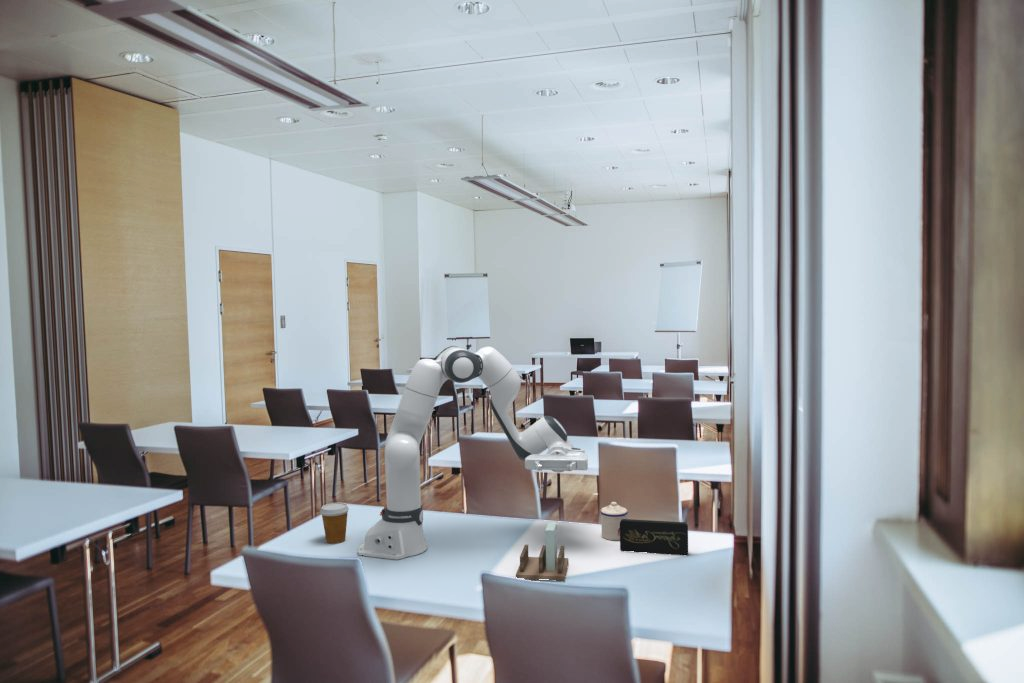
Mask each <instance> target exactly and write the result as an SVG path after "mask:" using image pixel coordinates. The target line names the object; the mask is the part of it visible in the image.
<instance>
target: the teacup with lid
mask: <svg viewBox="0 0 1024 683" xmlns="http://www.w3.org/2000/svg"><path fill="white" fill-rule="evenodd" d="M628 513H629V512H628V509H627V508H626V507H624V506H621V505H619V504H618V503H617V502H616V501H612V502H610V504H609V505H607V506H604V507H602V508H601V509H600V516H601V518H600V520H601V537H602V538H603V539H605V540H609V541H620V521H621V520H622V519H628Z"/></svg>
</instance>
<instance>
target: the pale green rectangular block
mask: <svg viewBox="0 0 1024 683" xmlns="http://www.w3.org/2000/svg"><path fill="white" fill-rule="evenodd" d="M544 533H545V545H546V571H555V569H556V566H557V558H558V533H557V522H547V524H546V528H545V531H544Z"/></svg>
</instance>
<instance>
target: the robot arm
mask: <svg viewBox="0 0 1024 683" xmlns="http://www.w3.org/2000/svg"><path fill="white" fill-rule="evenodd" d="M476 378H479V379H480V381H481V382H482V383H483V384H484V385H485V386H486V387H487V389H488V391H489V392H490V393H489V394H490V396H491V399H490V400H489V405H490V408H491V410H492V413H493V414H494V417H495V418H496V420H497V422H498V424H499V426H500V427H501V429H502V431H503V432H504V434H505V436H506V438H507V439H508V442H509V443H510V445H511V447H512V450H513V452H514V454H515V456H516V457H517V458H518V459H519V460H521V461H524V467H525V469H526V470H529V471H530V470H534V471H535V470H536V471H537V472H538V471H552V472H553V473H563V472H572V471H588V470H589V468H588V466H589V464H588V463H589V462H588V460H589V459H588V455H587V454H586V452H585V449H584V448H578V447H574V446H573V443H572V442H571V441H570V439H568V431H567V429H566V428H565V427H564V425H562V423H561V422H560V420H558V419H557V418H556V417H554V416H550V415H544V416H542V417H541V418H540V419H538V420H537V421H535V422H534V423H533V424H531V425H530V426H528V427H527V428H526V429H524V430H523V431H518V429H517V426H516V425H515V423H514V421H513V420H512V418H511V416H510V413H509V411H510V408H511V406H512V404H513V402H514V401H515V400H516V399H517V396H518V395H519V392H520V389H521V384H522V380H521V376H520V375H519V373H518V371H517V370H516V369H515V368H514V366H513V365H512V363H511V362H510V361H509V360H508V359H507V358H506V357H504V355H502V353H500V352H499V351H498V350H497V349H496V348H494V347H492V346H484V347H481V348H479V349H478V350H477V351H475V352H471V351H469V350H468V349H466V348H464V347H461V346H458V345H451V346H448V347H445V348H444V349H443V350H442V351H441V352H439V353H438V354H437V355H436V356H435V357H433V359H432V358H422V359H419V360H418V361H417V362H416V363H415V364H414V367H413V368H412V370H411V372H410V375H409V376H408V378H407V381H406V383H405V387H404V389H403V392H402V395H401V399H400V401H399V404H398V407H397V410H396V411H395V415H394V416H393V417H394V418H393V420H392V423H391V426H390V428H389V430H388V433H387V435H386V438H385V442H384V443H385V444H384V454H383V455H384V468H385V469H384V470H385V471H384V472H385V473H384V474H385V487H386V491H385V492H386V493H385V494H386V504H385V505H384V507H383V508H382V509H381V510H380V513H379V516H380V517H381V519H379V520H378V521H377V522H376V523H375V524H374V525H371V527H370V528H369V529H368V530H367V531H366V533H365V538H364V542H363V543H362V544H361V545H360V546H359V547H358V548H357V555H358V556H362V555H363V557H371V558H378V559H379V558H380V559H386V560H387V559H388V560H396V561H397V560H401V559H404V558H407V557H413V556H416V555H419V554H420V555H421V554H422V553H424V552H426V550H428V544H427V540H426V537H425V532H424V527H423V522H424V511H423V510H424V509H423V505H422V496H421V452H420V444H421V442H422V439H423V436H424V434H425V431H426V429H427V427H428V424H429V422H430V420H431V418H432V414H433V411H434V409H435V406H436V402H437V399H438V397H439V393H440V391H441V388H442V387H443V384H444V383H445V382H446V381H448V380H450V381H452V382H453V383H457V384H464V383H467V382H469V381H471V380H474V379H476ZM546 450H547V451H546ZM544 451H546V453H545V454H543V452H544Z"/></svg>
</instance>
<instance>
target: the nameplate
mask: <svg viewBox="0 0 1024 683" xmlns="http://www.w3.org/2000/svg"><path fill="white" fill-rule="evenodd" d="M619 548H620V549H619V550H620V551H621V552H624V551H634V552H633V553H639V552H647V553H646V554H654V553H656V554H657V555H669V554H671V556H672V555H673V556H684V555H686V556H688V555H689V525H688V523H687V522H685V521H684V522H683V521H670V520H669V521H667V520H652V519H651V520H650V519H649V520H648V519H646V520H645V519H631V518H630V519H628V518H627V519H622V520H621V521H620V540H619Z"/></svg>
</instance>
